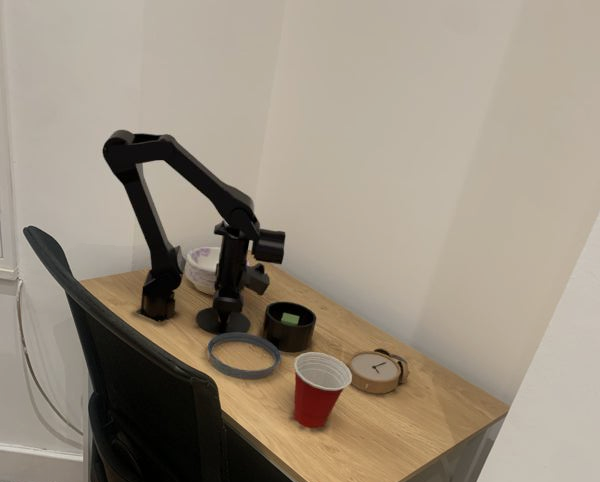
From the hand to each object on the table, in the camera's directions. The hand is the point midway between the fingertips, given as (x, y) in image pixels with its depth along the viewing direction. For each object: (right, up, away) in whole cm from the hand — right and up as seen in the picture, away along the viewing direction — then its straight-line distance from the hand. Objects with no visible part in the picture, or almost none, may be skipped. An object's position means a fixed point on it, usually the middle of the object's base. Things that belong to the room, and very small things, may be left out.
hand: (223, 320), depth 144 cm
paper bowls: (-4, +9, +15) cm, 18 cm away
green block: (+14, -4, 0) cm, 15 cm away
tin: (+14, -5, 0) cm, 15 cm away
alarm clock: (+34, -13, -5) cm, 36 cm away
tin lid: (0, 0, 0) cm, 1 cm away
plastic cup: (+19, -21, -22) cm, 36 cm away
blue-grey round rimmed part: (+5, -10, -10) cm, 15 cm away
